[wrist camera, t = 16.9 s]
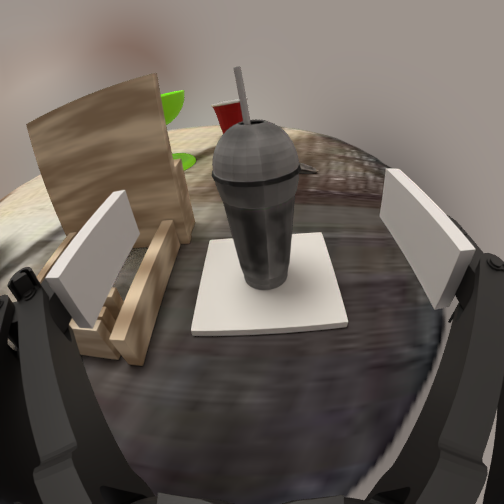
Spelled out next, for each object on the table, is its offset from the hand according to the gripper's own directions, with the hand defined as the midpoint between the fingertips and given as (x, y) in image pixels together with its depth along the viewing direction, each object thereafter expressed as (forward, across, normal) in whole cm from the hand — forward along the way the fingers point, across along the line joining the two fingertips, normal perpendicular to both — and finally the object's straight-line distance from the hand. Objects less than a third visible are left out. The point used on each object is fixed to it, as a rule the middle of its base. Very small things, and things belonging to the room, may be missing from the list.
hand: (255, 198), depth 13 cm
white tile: (+10, 0, -14) cm, 17 cm away
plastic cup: (+72, -8, -15) cm, 74 cm away
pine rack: (+11, -20, -14) cm, 27 cm away
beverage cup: (+10, 0, -14) cm, 17 cm away
